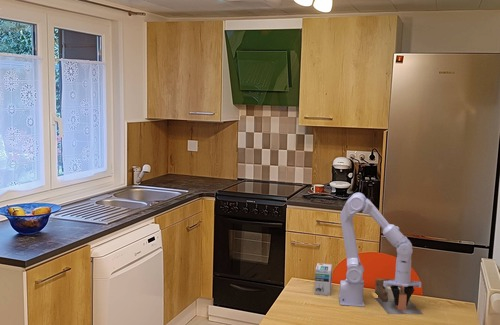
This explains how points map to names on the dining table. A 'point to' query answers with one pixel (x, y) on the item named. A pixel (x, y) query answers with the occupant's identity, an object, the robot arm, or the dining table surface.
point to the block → (402, 298)
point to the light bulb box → (323, 279)
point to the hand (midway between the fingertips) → (401, 304)
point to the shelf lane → (390, 305)
